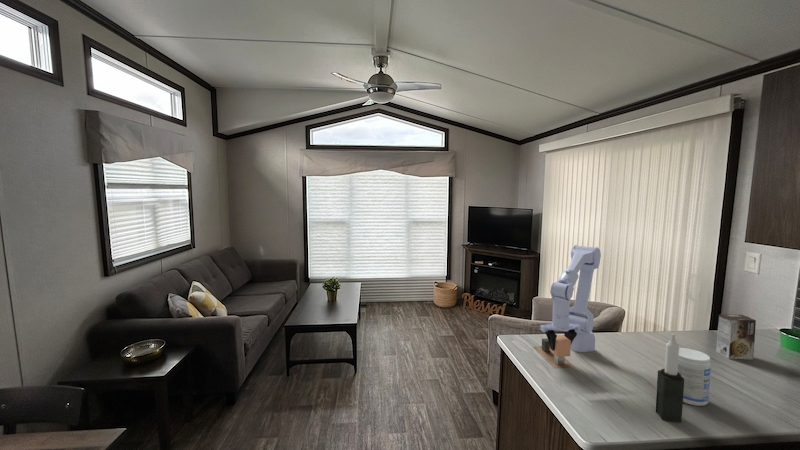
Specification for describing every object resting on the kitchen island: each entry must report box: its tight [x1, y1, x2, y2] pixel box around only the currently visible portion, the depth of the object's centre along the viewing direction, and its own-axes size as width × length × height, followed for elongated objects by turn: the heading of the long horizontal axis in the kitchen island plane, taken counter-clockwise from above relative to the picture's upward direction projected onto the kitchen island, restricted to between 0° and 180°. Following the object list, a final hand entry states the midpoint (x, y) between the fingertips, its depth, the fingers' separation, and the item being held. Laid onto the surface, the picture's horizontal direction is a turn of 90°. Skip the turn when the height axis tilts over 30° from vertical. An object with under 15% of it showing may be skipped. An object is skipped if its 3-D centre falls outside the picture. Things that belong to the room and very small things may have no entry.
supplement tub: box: [678, 347, 712, 407], centre depth 108 cm, size 10×10×15 cm
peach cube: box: [550, 334, 571, 358], centre depth 129 cm, size 5×5×6 cm
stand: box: [532, 338, 576, 369], centre depth 134 cm, size 8×18×6 cm, turn 4°
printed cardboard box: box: [715, 313, 757, 360], centre depth 136 cm, size 9×6×16 cm
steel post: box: [554, 355, 566, 364], centre depth 129 cm, size 3×3×4 cm
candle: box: [655, 333, 684, 423], centre depth 99 cm, size 5×5×25 cm
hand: (559, 349), depth 129 cm, fingers closed on peach cube, 5 cm apart
